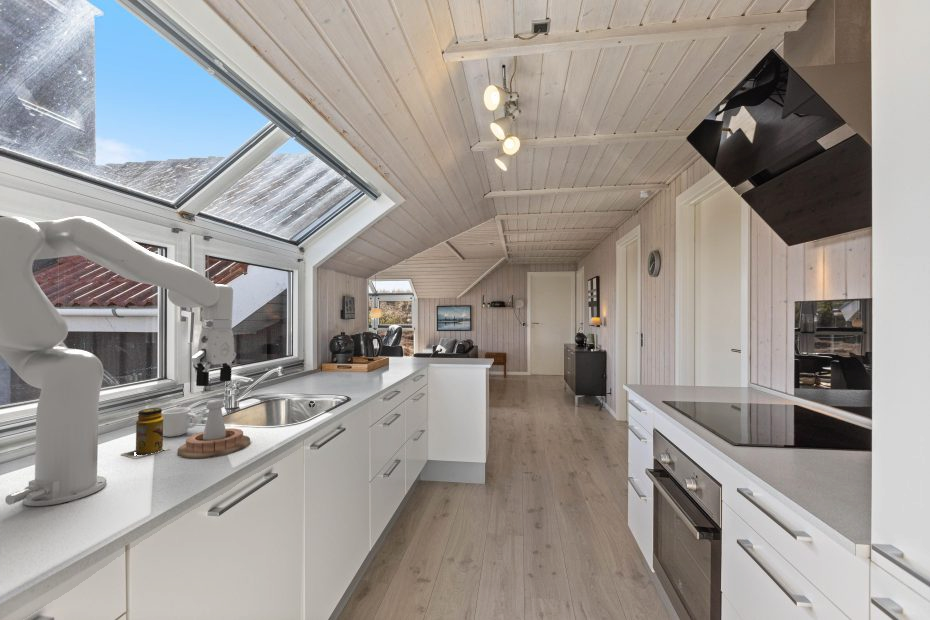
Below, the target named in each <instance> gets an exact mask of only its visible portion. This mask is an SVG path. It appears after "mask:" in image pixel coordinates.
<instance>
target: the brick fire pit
mask: <svg viewBox="0 0 930 620" xmlns="http://www.w3.org/2000/svg"><path fill="white" fill-rule="evenodd" d="M225 430H226V437H225V438H224V439H219V440H212V441H204V440H203V434H204V431H201V432H198V433H194V434H192V435H189V436H188V437H187V438H186V439H185V443H184V444H182V445H180V446H179V447H178V448H177V456H178V455H179V457H180V456H181V457H180V458H184V459H194V460H195V459H208V457H210V458H215V457H214V456H216V457H221V456H220V455H222V456H225V455H224V454H226V455H228V454H229V453H230V454H233V453H236V452H240V451H242V450H244V449H245V448H247V447H248V446H249V445H250V444H251V438H250V437H249V436H247V435H244V431H243V430H242V429H239V428H232V427H231V428H225ZM246 446H247V447H246ZM232 452H233V453H232Z"/></svg>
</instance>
